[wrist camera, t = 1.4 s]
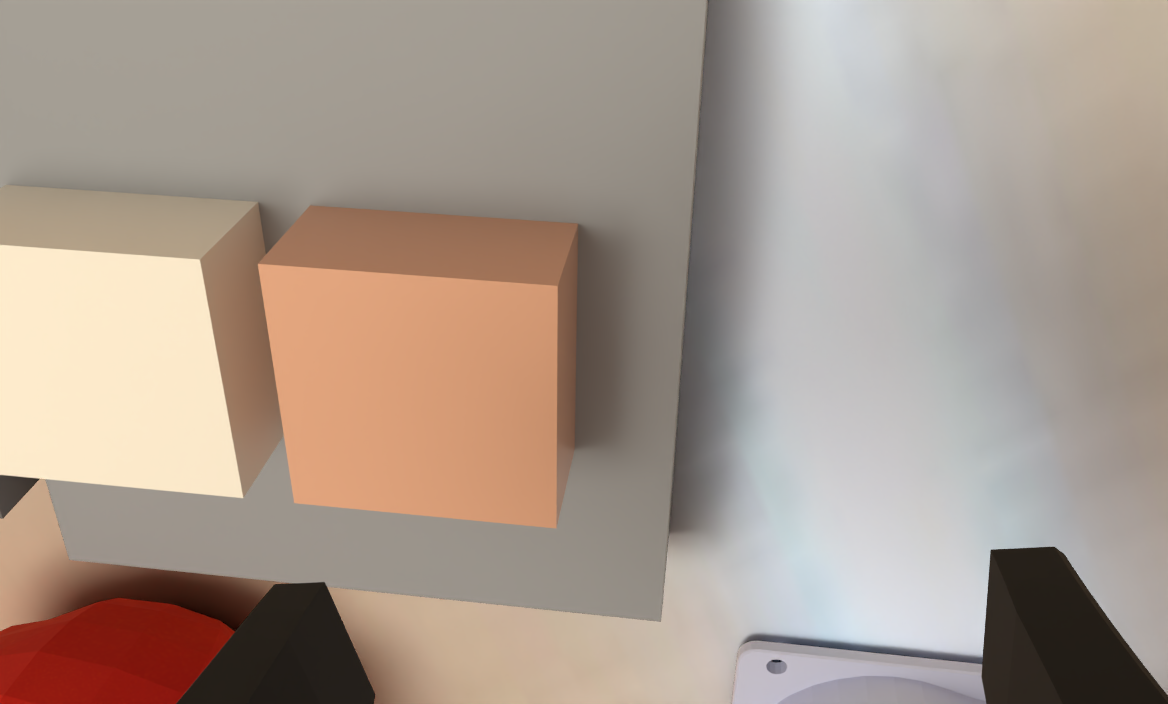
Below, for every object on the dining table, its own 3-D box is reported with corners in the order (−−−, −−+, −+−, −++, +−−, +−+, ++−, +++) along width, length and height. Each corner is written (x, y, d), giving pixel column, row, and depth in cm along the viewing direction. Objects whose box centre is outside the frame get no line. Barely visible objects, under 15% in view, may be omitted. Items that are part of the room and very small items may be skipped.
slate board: (713, -65, 19) (708, -33, 17) (668, 534, 27) (661, 621, 24) (-12, -94, 21) (-118, -68, 18) (131, 482, 28) (69, 559, 25)
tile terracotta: (578, 223, 19) (557, 285, 17) (574, 450, 22) (556, 528, 20) (309, 205, 20) (257, 263, 18) (336, 428, 22) (294, 503, 20)
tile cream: (258, 201, 20) (199, 259, 18) (290, 424, 22) (243, 498, 20) (6, 184, 20) (-81, 238, 18) (65, 404, 23) (-4, 474, 21)
